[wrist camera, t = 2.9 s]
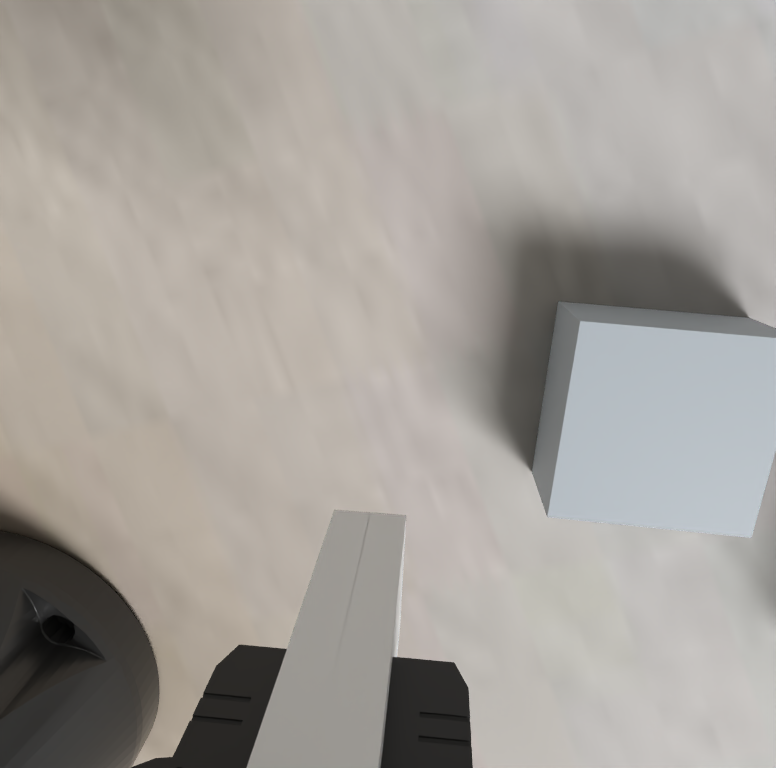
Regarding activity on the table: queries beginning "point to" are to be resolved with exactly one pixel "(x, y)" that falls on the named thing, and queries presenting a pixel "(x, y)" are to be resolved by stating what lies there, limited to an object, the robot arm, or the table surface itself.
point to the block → (657, 419)
